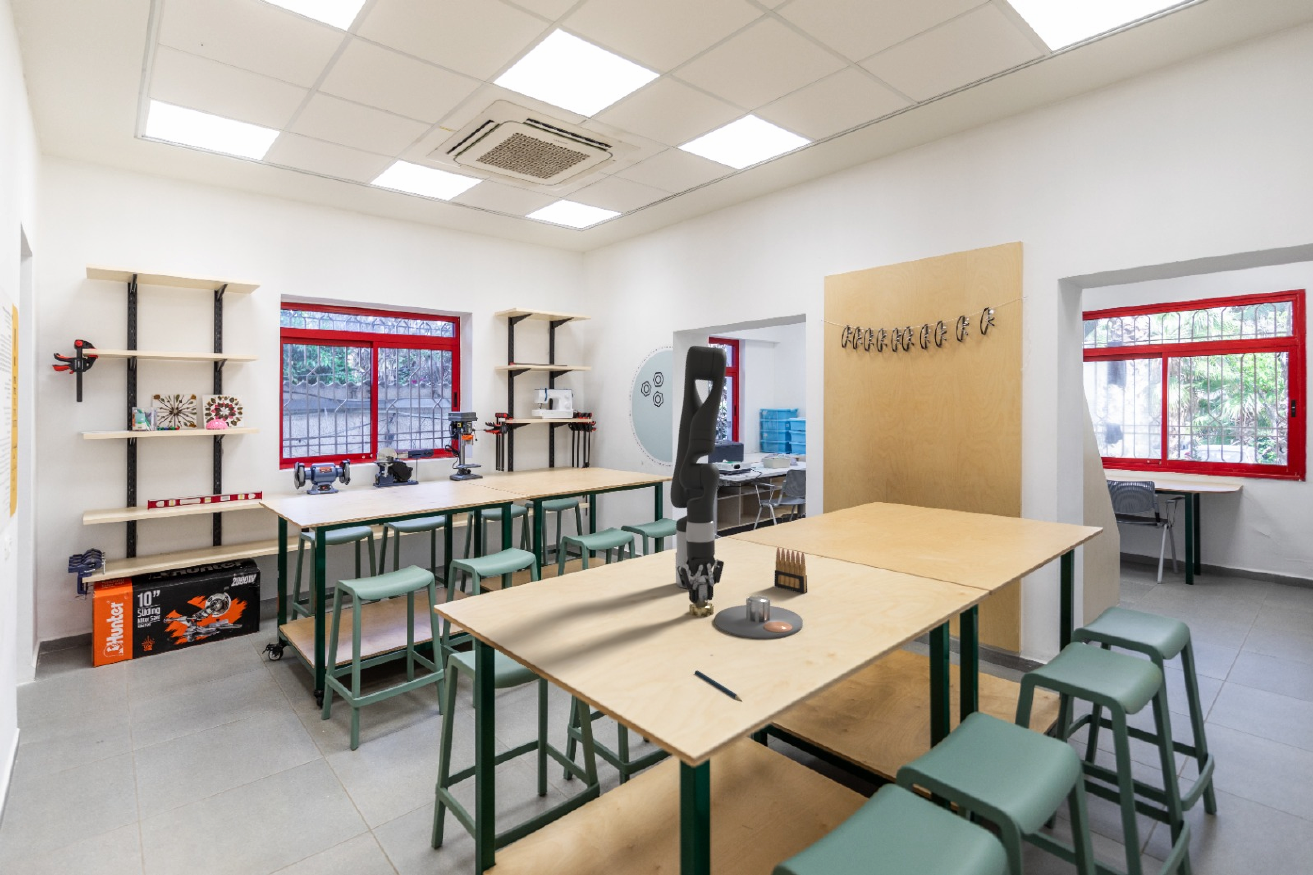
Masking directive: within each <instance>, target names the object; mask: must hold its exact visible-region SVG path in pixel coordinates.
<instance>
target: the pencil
mask: <svg viewBox="0 0 1313 875" xmlns="http://www.w3.org/2000/svg"><path fill="white" fill-rule="evenodd" d="M694 674H695V675H696V676H698V677H699V678H701V679H702V680H704V681H706V682H707V683H709V684H711V685H712V686H714V687H715V688H717V689H719V690H720V691H722V692H724V693H725V694H726V695H728V696H730V697H732V698H733V699H735V700H737V701H739V702H743V700H742V699H741V697H740V696H739V694H737V693H735V692H733V691H732V690H731V689H728V688H727V687H725V686H724V685H722V684H721V683H719V682H718V681H715V680H714V679H712V678H711V677H709V676H707V675H706V674H704V673H702V672H701V671H699V670H695V672H694Z"/></svg>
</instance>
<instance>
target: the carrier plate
mask: <svg viewBox="0 0 1313 875" xmlns="http://www.w3.org/2000/svg"><path fill="white" fill-rule="evenodd" d="M714 624H715V626H716V627H717V628H718V629H719V630H721V631H722V632H725V633H726V634H729V635H732V636H736V637H741V638H742V637H743V638H748V639H757V640H758V639H759V640H760V639H761V640H762V639H763V640H765V639H766V640H769V639H772V640H773V639H780V638H785V637H788V636H789V637H790V636H792V635H795V634H797V633H799V632H800V631H801V630H802V628H803V627H804V626H803V618H802V617H801V615H800V614H798V613H796V612H794V611H792V610H790V609H787V608H784V607H780V606H774V605H771V599H769V597H768V596H762V595H757V596H756V595H755V596H753V595H751V596H749V597H746V599H745V604H743V605H736V606H731V607H728V608H727V607H726V608H724V609H722V610H720V611H718V612H717V613H716V614H715V617H714Z"/></svg>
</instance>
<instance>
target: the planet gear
mask: <svg viewBox="0 0 1313 875" xmlns="http://www.w3.org/2000/svg"><path fill="white" fill-rule="evenodd" d="M696 590H697V603H695V604H694V603H690V604H689V608H688V609H689V610H688V611H689V613H690V615H691V616H696V617H698V618H699V617H700V618H702V617H710V615H714V612H715V611H714V607H715V606H714V605H713V603H711V602H709V600H708V584H707V582H698V583H697V588H696Z"/></svg>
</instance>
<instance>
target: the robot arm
mask: <svg viewBox="0 0 1313 875" xmlns="http://www.w3.org/2000/svg"><path fill="white" fill-rule="evenodd" d="M727 361H728V360H727V352H726V350H725V349H723V348H721V347H712V346H710V347H709V346H702V345H701V346H699V345H691V346H690V347H689V348H688V350H687V353H686V357H685V367H684V369H685V370H684V387H683V389H684V390H683V397H682V398H683V400H682V401H683V402H682V408H681V415H680V421H679V428H678V438H677V447H676V448H677V449H676V450H677V451H676V459H675V464H674V470H673V474H672V480H671V486H670V494H669V495H670V501H671V504H672V506H673V507H674V508H676V509H686V515H685V516H682V517H680V518H678V519H677V521H676V524H675V525H676V526H675V527H676V528H675V529H676V532H675V533H676V534H675V535H676V552H675V583H676V584H677V586H678V587H679V588H682V589H687V590H688V599H689V601H690V602H691V604H693V603H694V604H695V603H697V590H696V588H697V583H698V582H707V584H708V601H712V600H713V598H714V586H715V585H716V584H719V583H720V582H721V577H722V573H723V569H724V565H725V563H724V561H723V560H720V559H716V558H715V554H716V553H715V552H716V550H715V548H716V546H715V545H716V543H715V542H716V541H715V525H714V524H715V523H714V504H715V497H716V492H717V490H718V489H717V488H718V486H719V482H720V475H721V474H720V470H719V468H718V466H717V465H716V464H715V463H710V462H709V463H708V462H707V463H705V462H698V461H699V459H701V458H703V457H706V456H710V455H713V454H714V453H715V450H716V449H715V448H716V436H717V424H718V423H717V422H718V416H719V413H720V412H719V410H720V407H721V401H722V396H723V392H724V391H723V390H724V386H725V385H724V384H725V381H726V380H725V377H726V372H727V365H728V364H727V363H728V362H727ZM698 380H699V381H707V382H712V386H711V389H710V392H709V394H708V396H707V397H706V399H705V400H704V402H703V401H702V398H701V397H700V395H699V394H700V393H699V392H698V388H697V384H696V381H698Z"/></svg>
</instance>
